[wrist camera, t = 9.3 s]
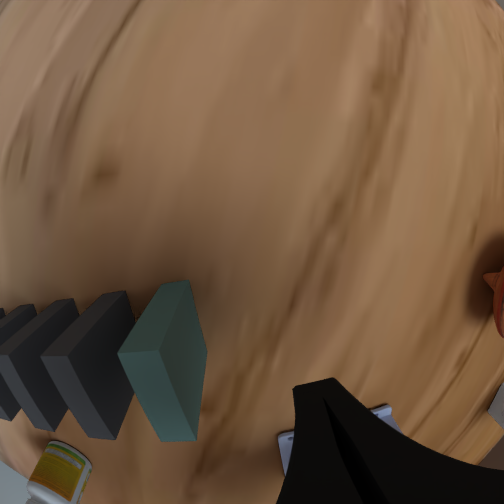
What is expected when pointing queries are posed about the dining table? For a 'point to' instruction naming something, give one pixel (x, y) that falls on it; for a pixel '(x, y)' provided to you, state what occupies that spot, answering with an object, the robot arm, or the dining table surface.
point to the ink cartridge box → (498, 407)
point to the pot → (497, 297)
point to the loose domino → (168, 362)
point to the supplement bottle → (59, 476)
